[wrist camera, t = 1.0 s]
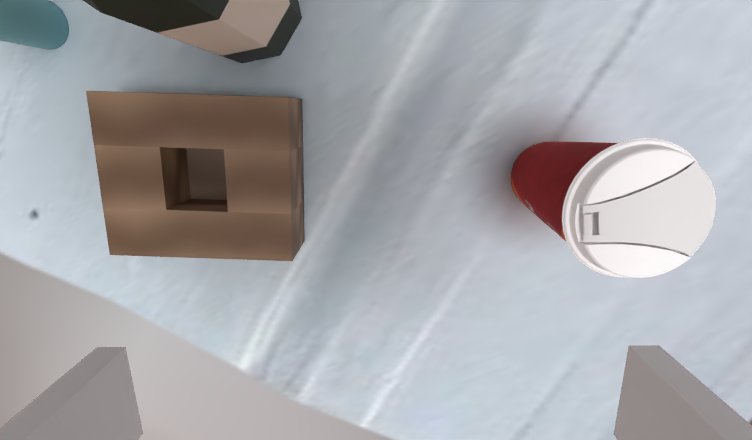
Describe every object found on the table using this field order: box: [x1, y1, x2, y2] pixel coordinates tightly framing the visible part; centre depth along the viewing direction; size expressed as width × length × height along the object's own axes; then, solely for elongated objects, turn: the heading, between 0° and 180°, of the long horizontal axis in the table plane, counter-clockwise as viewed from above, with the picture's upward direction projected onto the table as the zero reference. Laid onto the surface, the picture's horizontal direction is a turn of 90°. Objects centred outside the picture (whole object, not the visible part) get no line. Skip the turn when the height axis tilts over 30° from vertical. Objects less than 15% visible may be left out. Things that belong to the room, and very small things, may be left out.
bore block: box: [86, 91, 304, 261], centre depth 32 cm, size 12×14×5 cm
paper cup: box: [511, 138, 716, 278], centre depth 27 cm, size 8×8×14 cm
